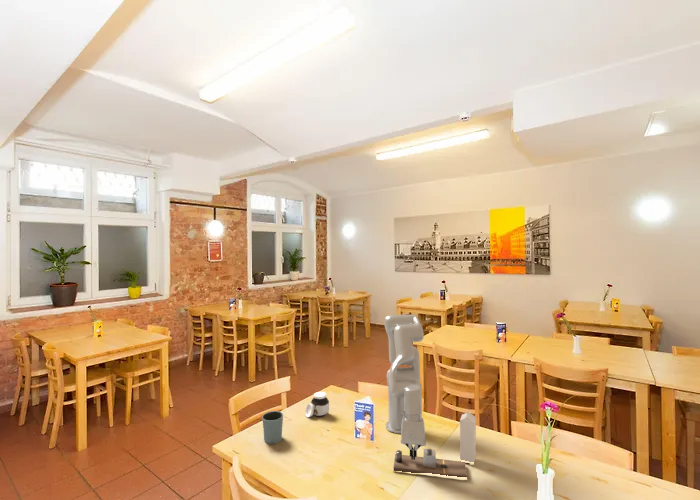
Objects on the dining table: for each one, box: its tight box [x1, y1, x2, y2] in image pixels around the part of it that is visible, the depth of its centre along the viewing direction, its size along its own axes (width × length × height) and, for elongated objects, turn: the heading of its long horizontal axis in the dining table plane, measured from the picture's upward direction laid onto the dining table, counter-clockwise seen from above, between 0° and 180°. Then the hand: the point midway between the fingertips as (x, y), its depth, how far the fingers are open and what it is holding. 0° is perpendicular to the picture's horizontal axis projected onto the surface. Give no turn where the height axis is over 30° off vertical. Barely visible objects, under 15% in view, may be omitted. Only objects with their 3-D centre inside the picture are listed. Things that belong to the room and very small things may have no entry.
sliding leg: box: [423, 448, 437, 468], centre depth 154 cm, size 5×5×6 cm
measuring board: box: [393, 453, 468, 478], centre depth 154 cm, size 10×30×2 cm, turn 78°
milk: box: [459, 409, 477, 462], centre depth 160 cm, size 6×6×22 cm
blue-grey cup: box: [261, 410, 284, 445], centre depth 178 cm, size 10×10×12 cm
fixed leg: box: [395, 449, 403, 463], centre depth 156 cm, size 2×2×4 cm
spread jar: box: [305, 391, 330, 418], centre depth 203 cm, size 12×11×12 cm
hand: (413, 457), depth 155 cm, fingers closed
